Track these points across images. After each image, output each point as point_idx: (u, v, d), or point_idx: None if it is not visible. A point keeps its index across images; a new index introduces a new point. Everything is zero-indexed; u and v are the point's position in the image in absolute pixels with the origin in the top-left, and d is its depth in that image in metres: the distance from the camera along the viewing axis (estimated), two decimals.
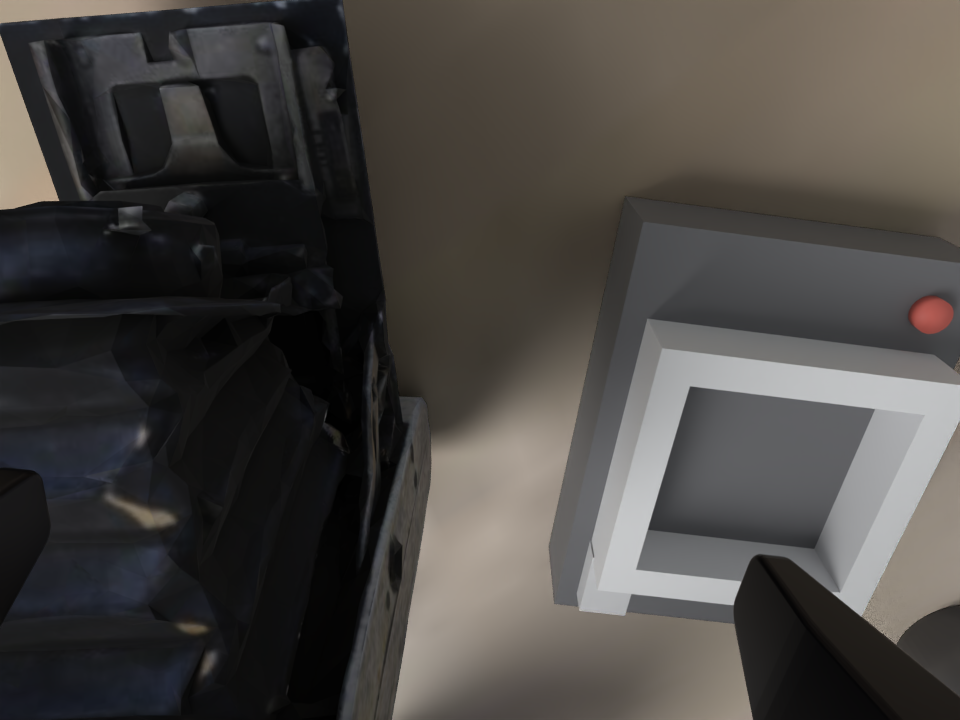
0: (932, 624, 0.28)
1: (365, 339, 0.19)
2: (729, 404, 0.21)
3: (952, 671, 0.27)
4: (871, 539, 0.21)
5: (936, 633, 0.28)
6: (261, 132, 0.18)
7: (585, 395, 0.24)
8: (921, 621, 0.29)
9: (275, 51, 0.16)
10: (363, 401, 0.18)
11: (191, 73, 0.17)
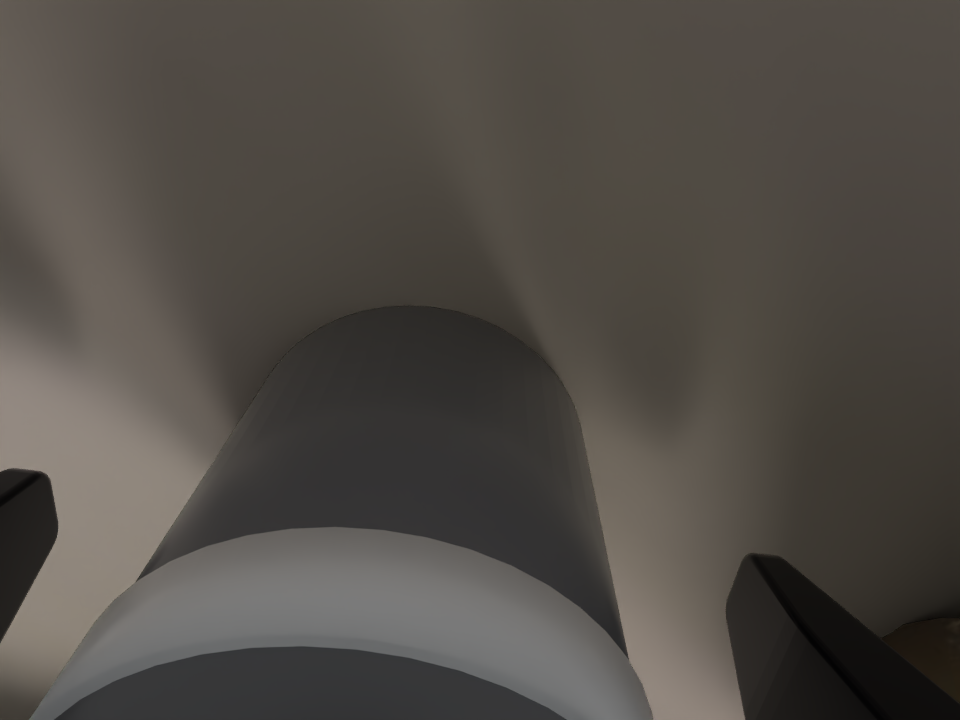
0: None
1: None
2: None
3: None
4: None
5: None
6: None
7: None
8: None
9: None
10: None
11: None
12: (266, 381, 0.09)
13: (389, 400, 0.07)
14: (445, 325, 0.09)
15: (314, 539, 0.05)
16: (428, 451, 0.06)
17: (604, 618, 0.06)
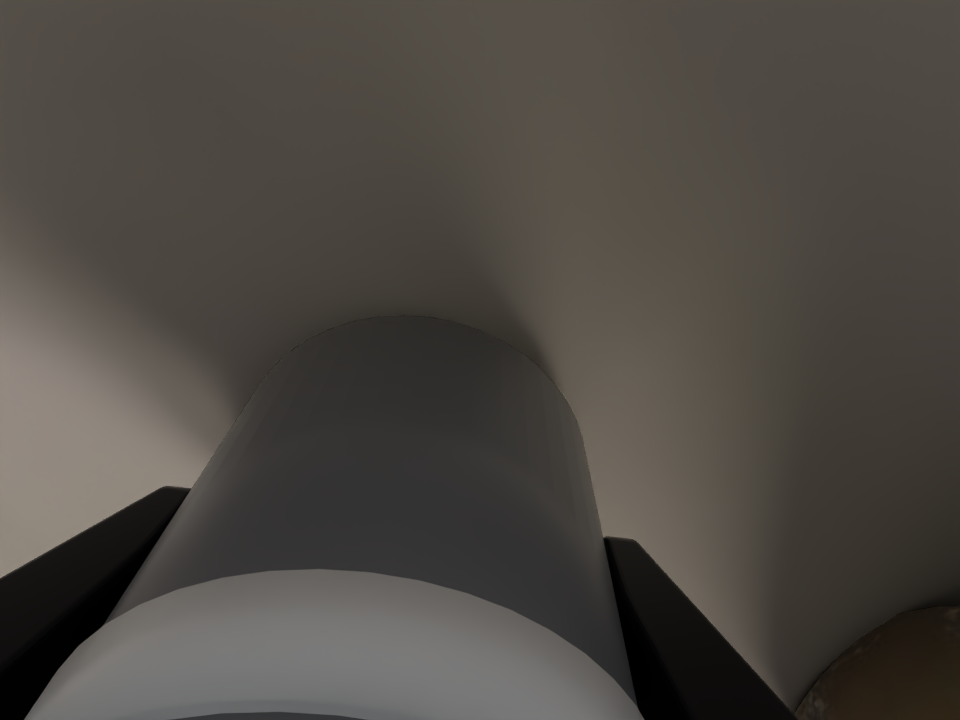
0: None
1: None
2: None
3: None
4: None
5: None
6: None
7: None
8: None
9: None
10: None
11: None
12: (253, 395, 0.09)
13: (380, 421, 0.07)
14: (441, 337, 0.08)
15: (294, 583, 0.05)
16: (421, 479, 0.06)
17: (610, 660, 0.06)
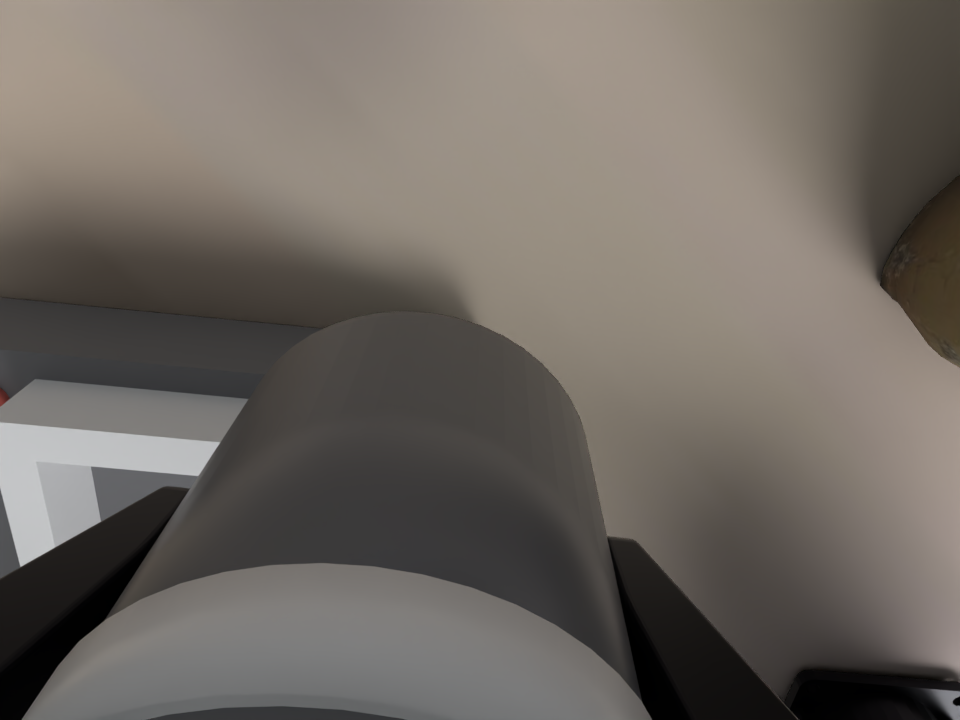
0: None
1: None
2: None
3: None
4: None
5: None
6: None
7: None
8: None
9: None
10: None
11: None
12: (254, 391, 0.09)
13: (382, 415, 0.07)
14: (443, 333, 0.08)
15: (299, 576, 0.05)
16: (425, 474, 0.06)
17: (615, 655, 0.06)
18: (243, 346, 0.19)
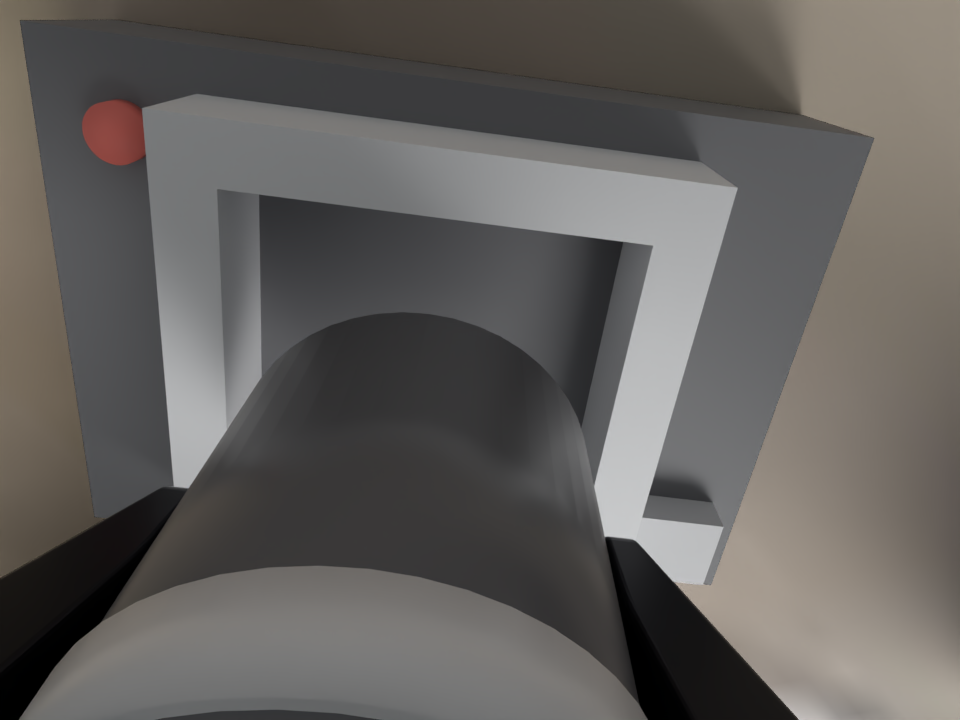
0: None
1: None
2: None
3: None
4: (511, 215, 0.10)
5: None
6: None
7: None
8: None
9: None
10: None
11: None
12: (252, 392, 0.09)
13: (380, 417, 0.07)
14: (441, 334, 0.08)
15: (295, 581, 0.05)
16: (422, 475, 0.06)
17: (613, 657, 0.05)
18: (490, 78, 0.13)
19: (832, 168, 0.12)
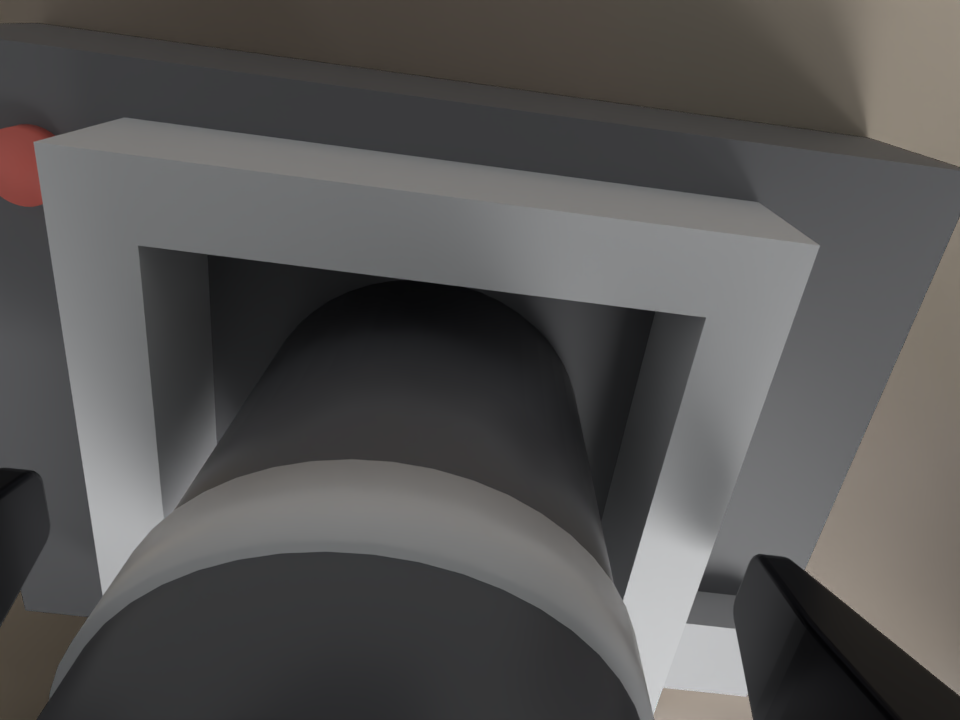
0: None
1: None
2: None
3: None
4: (522, 278, 0.08)
5: None
6: None
7: None
8: None
9: None
10: None
11: None
12: (280, 350, 0.10)
13: (396, 359, 0.08)
14: (447, 297, 0.10)
15: (333, 468, 0.06)
16: (433, 402, 0.07)
17: (592, 550, 0.07)
18: (494, 95, 0.10)
19: (923, 210, 0.09)
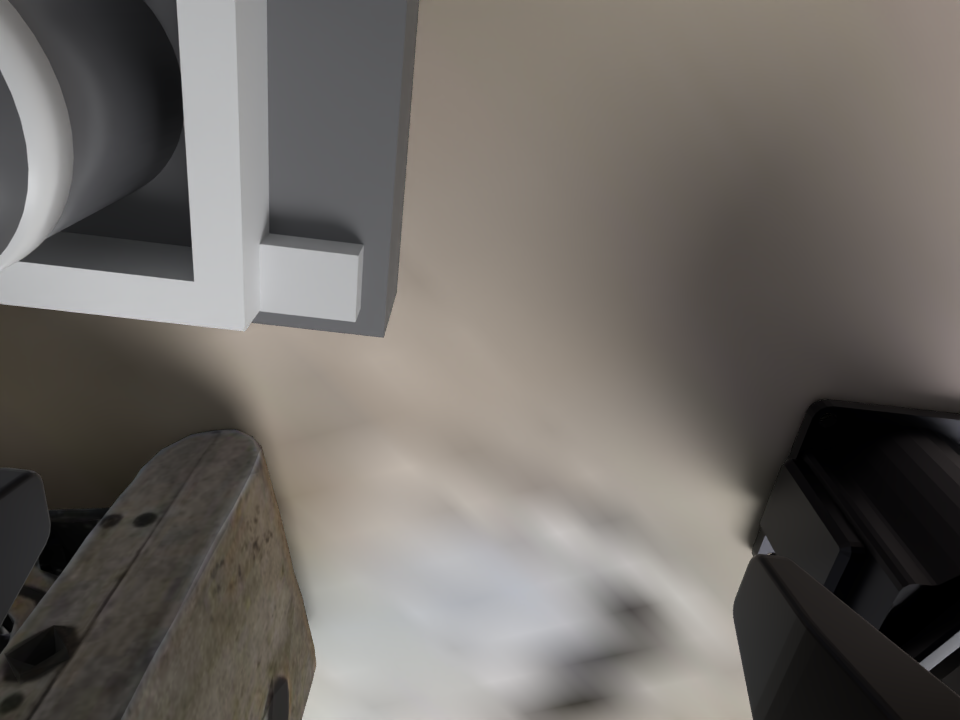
0: None
1: None
2: None
3: None
4: None
5: None
6: None
7: None
8: None
9: None
10: None
11: None
12: None
13: None
14: None
15: None
16: None
17: (22, 8, 0.10)
18: None
19: None
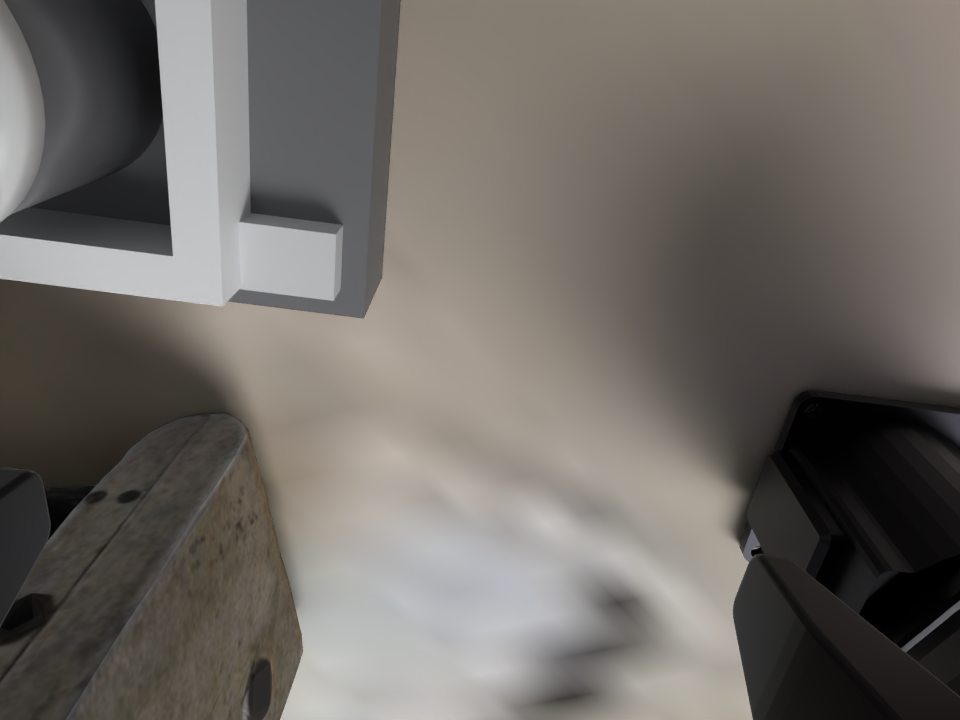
0: None
1: None
2: None
3: None
4: None
5: None
6: None
7: None
8: None
9: None
10: None
11: None
12: None
13: None
14: None
15: None
16: None
17: None
18: None
19: None
